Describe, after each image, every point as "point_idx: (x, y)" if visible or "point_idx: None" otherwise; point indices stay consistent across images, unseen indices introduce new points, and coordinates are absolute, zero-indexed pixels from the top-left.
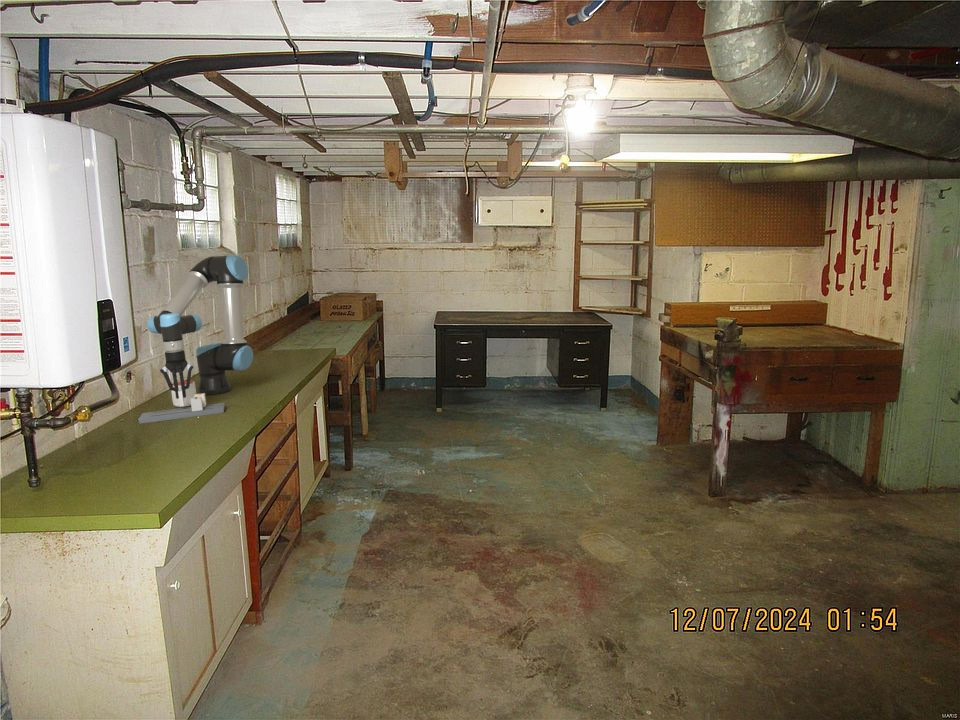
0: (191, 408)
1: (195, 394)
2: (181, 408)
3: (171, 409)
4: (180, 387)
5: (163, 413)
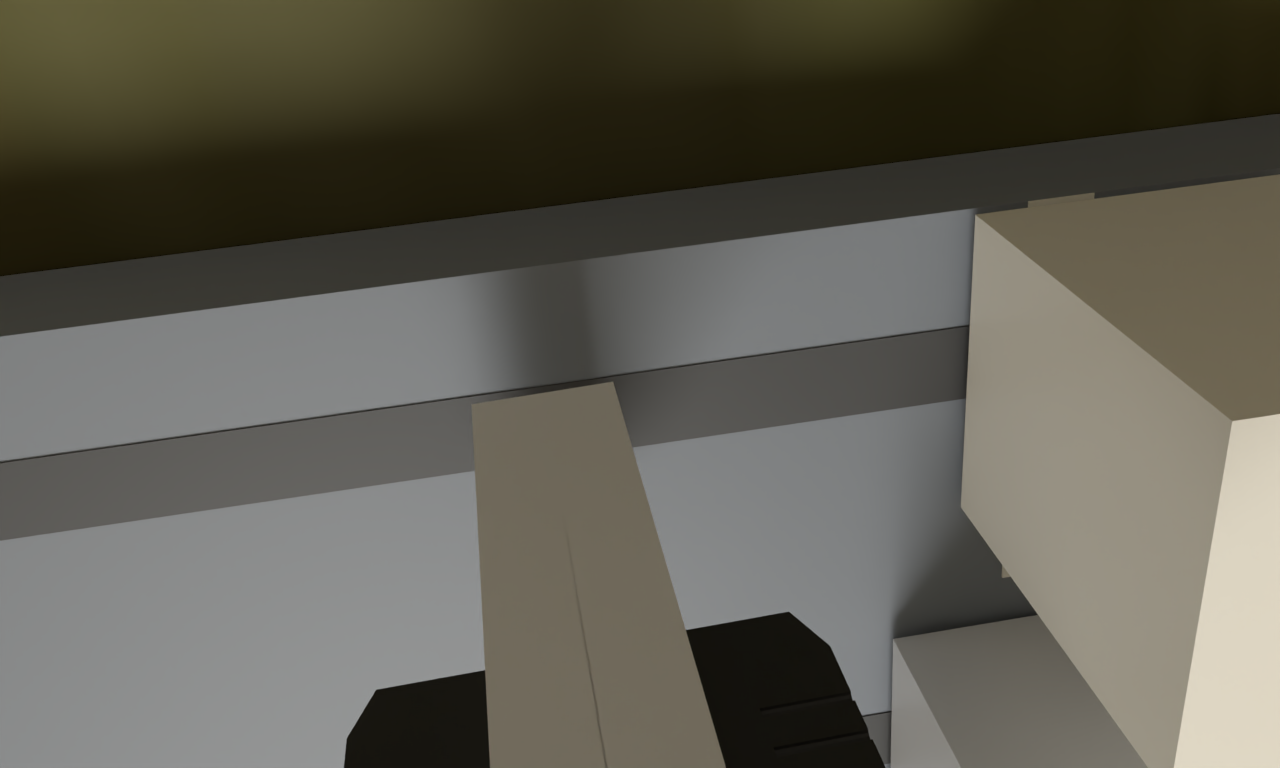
0: (826, 458)
1: (1262, 432)
2: (471, 325)
3: (103, 335)
4: None
5: (41, 762)
